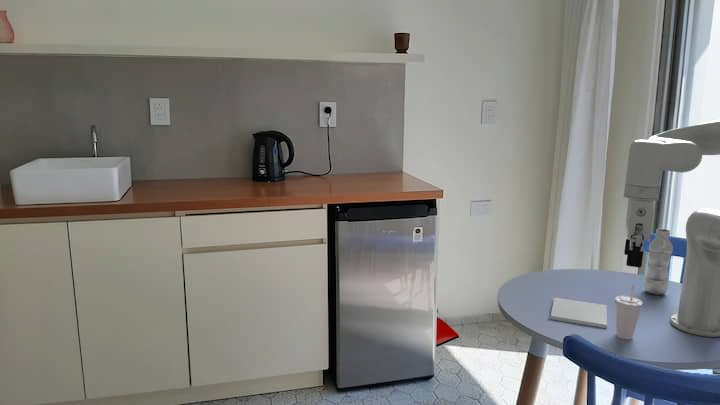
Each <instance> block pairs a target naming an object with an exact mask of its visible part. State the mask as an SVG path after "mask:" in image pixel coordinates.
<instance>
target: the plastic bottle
mask: <svg viewBox="0 0 720 405" xmlns="http://www.w3.org/2000/svg"><path fill="white" fill-rule="evenodd" d="M670 233H671V231H670V230H669V229H666V228H657V229H656V230H655V234H654V236H655V237H654V239H652V240H651V241H650V243H649V246H648V267H647V272H646V276H645V279H644V282H643V286H644V287H643V288H644V290H645V292H647V293H648V294H652V295H659V296H660V295H661V296H662V295H665V294H666V293H667V291H668V288H669V280H668V277H669V276H668V275H669V265H670V262H671V257H672V254H673V252H674V247H673V244H672V242H671V240H670V239H669V238H670V237H671V234H670Z"/></svg>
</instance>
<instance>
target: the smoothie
mask: <svg viewBox="0 0 720 405" xmlns="http://www.w3.org/2000/svg"><path fill="white" fill-rule="evenodd" d="M630 288H631V290H630V295H618V296H616V297H615V298H614V301H613V302H614V304H615V327H616V328H615V330H616V334H615V335H616V336H617V337H618V338H619V339H621V340H633V338H634V335H635V330H636V327H637V324H638V321H639V320H638V319H639V316H640V313H641V309H642V308H643V307H644V301H642V300H641V299H639V298H637V297H634V292H635V283H632V284H631V287H630Z"/></svg>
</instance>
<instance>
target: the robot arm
mask: <svg viewBox="0 0 720 405" xmlns="http://www.w3.org/2000/svg"><path fill="white" fill-rule="evenodd" d="M628 151H629V152H628V158H627V167H626V172H625V173H626V174H625V175H626V176H625V182H624V189H623V197H624V198H625V199H628V200H627V208H626V209H627V210H626V218H625V234H626V239H625V244H624V245H625V246H624V251H623V253H624V255H625V256H626V263H625V264H626V266H627V267H634V268H642V265H643V259H644V258H643V257H644V241H646V243H649V242H651V234H652V227H653V226H652V225H653V217H654V206H655V204H654V203H655V202H658V201H659V199H660V195H661V194H660V193H661V192H660V191H661V187H662V186H661V185H662V178H663V172H665V171H667V172H673V173H674V172H675V173H689V172H692V171H693V170H695V169H696V168H698V167H699V165H700V164H701V163H702V161H703V156H719V155H720V119H718V120H713V121H708V122H702V123H699V124H694V125H693V124H692V125H688V126H683V127H677V128H674V129H669V130H666V131H663V132H661V133H660V132H659V133H657V134H655V135H652V136H649V137H648V138H647V139H637V140H633V141H632V142H631V143H630V145H629V149H628ZM685 238H686V254H685V255H686V256H685V262H684V263H685V264H684V271H683V277H682V282H681V283H682V284H681V290H680V291H681V292H680V295H679V304H678V311H677V313H674V314H672V315H671V316H670V320H669V321H670V323H671V325H672V326H673V327H675V328H677V329H679V330H681V331H682V332H685V333H688V334H692V335H695V336H700V337H707V338H708V337H709V338H710V337H711V338H717V337H720V210H719V209H715V208H700V209H697V210H695V211H693V212H692V213H691V214H690V215H689V217H688V218H687V221H686V224H685Z"/></svg>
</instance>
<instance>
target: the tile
mask: <svg viewBox="0 0 720 405" xmlns="http://www.w3.org/2000/svg"><path fill="white" fill-rule="evenodd" d="M607 312H608V308H607V304H600V303H596V302H595V303H593V302H586V301H581V300H572V299H568V298H567V299H566V298H560V297H553V303H552V308H551V313H550V318H549V319H550V320H554V321H559V322H568V323H573V324H579V325H585V326H589V327H595V328H597V327H598V328H601V329H603V328H604V329H608V315H607V314H608V313H607Z"/></svg>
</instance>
